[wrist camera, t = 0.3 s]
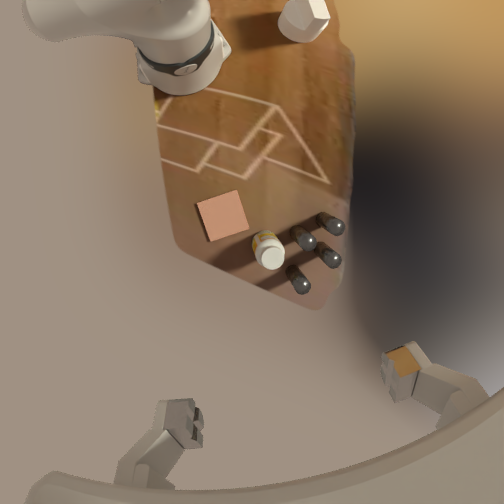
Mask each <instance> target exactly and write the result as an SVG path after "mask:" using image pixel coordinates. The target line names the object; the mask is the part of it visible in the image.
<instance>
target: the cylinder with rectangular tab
mask: <svg viewBox="0 0 504 504" xmlns="http://www.w3.org/2000/svg"><path fill="white" fill-rule="evenodd" d="M329 19H330V15H329V12H328V10H327V7H326V4H325V2H324V0H290V1H288V2H287V3H286V5H285V6H284V8H283V11H282V13H281V15H280V17H279V19H278V27H279V29H280V31H281V33H282V34H283V35H284V36H286V37H287V38H288V39H290V40H292V41H295V42H300V43H306V42H310V41H313V40H314V39H315V38H316V37H317V36H318V35H319V34H320V33H321V32H322V31H323V30H324V28H325V27H326V26H327V24H328V21H329Z"/></svg>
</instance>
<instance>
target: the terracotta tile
mask: <svg viewBox="0 0 504 504" xmlns="http://www.w3.org/2000/svg"><path fill="white" fill-rule="evenodd" d="M197 205H198V208H199V211H200V214H201V216H202V219H203V222H204V225H205V228H206V230H207V233H208V236H209V239H210V241H214V240H217V239H220V238H223V237H226V236H229V235H232V234H235V233H238V232H241V231H244V230H247V229H249V226H248V223H247V220H246V216H245V213H244V210H243V207H242V204H241V201H240V198H239V195H238V192H237V190H234V191H230V192H227V193H224V194H221V195H219V196H216V197H213V198H210V199H207V200H204V201H201V202H198V203H197Z"/></svg>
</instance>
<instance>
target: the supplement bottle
mask: <svg viewBox="0 0 504 504" xmlns="http://www.w3.org/2000/svg"><path fill="white" fill-rule="evenodd" d="M252 248H253V251H254V254H255V257H256V259H257V261H258V263H259V264H260V265H262V266H264V267H265V268H267V269H271V270H274V269H277V268H279V267H280V266H281V265H282V264H283V262H284V254H285V251H284V247H283V245H282V244H281V242H280V241H279V240H278V238H277V237H276V236H275V234H273V233H272V232H270V231H261V232H259V233H257V234H256V235H255V236H254V238H253V240H252Z"/></svg>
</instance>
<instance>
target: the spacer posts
mask: <svg viewBox="0 0 504 504" xmlns="http://www.w3.org/2000/svg"><path fill="white" fill-rule="evenodd" d="M316 223H317V224H318V225H319V226H321V227H322V228H324V229H325V230H327V231H328V232H330V233H331V234H333V235H335V236H339V235H341V234H342V233H343V232H344V230H345V224H344V222H343V221H341V220H339V219H337V218H335V217H333V216H331V215H329V214H327V213H325V212H321V213H319V214H318V215H317V217H316ZM290 236H291V237H292V238H293V239H294V240H295V242H296V243H297V244H298V245H299V246H300V247H301V248H302V249H303V250H305V251H311V250H313V249H314V253H315V254H316V255H317V256H318V257H319V258H320V259H321V260H322V261H323V262H324V263H325V264H326V265H327V266H328V267H330V268H332V269H334V268H337V267H338V266H339V265H340V264H341V256H340V255H339V254H338V253H336V252H335V251H334V250H333V249H331V248H330V247H329V246H328V245H326V244H325V243H324V242H318V243H317V241H316V238H315V237H314V236H313V235H311V234H310V233H309V232H308V231H306V230H305V229H304V228H302V227H301V226H299V225H296V226H293V227H292V228H291V230H290ZM286 275H287V277H288V278H289V280H290V282H291V283H292V285H293V287H294V288H295V290H296V292H297V293H298V294H306V293H308V292H309V290H310V288H311V284H310V282H309V281H308V280H307V278H306V277H305V276H304V274H303V273H302V272H301V270H300V269H299V267H298V266H296V265H291V266H289V267H288V268H287V270H286Z"/></svg>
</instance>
